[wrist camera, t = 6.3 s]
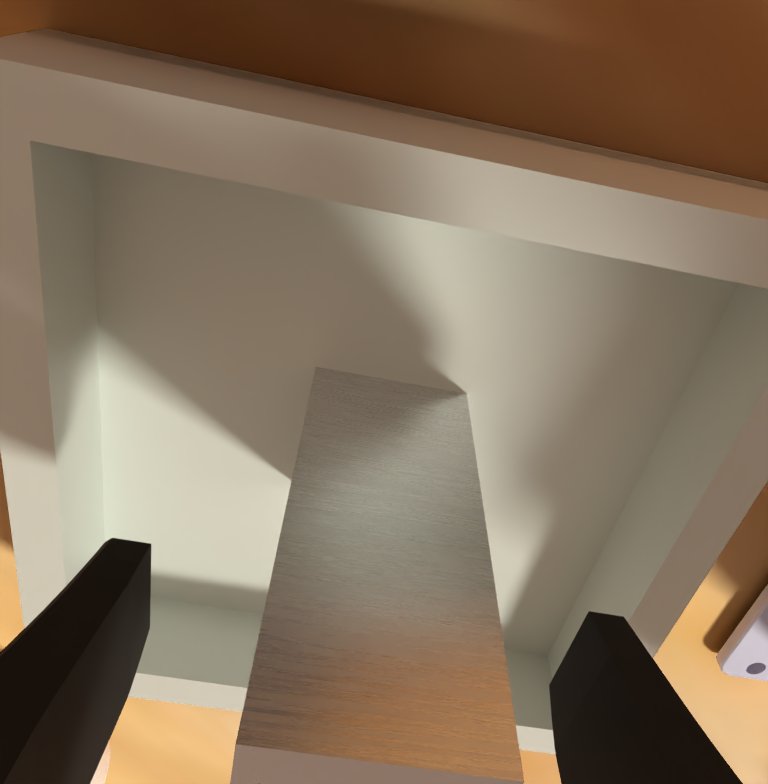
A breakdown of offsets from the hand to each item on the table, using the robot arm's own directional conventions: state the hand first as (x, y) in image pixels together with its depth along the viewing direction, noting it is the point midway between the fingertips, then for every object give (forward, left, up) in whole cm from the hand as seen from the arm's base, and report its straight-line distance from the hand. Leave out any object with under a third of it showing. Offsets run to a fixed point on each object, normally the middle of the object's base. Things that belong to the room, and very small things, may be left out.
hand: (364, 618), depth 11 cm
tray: (0, 0, -5) cm, 5 cm away
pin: (0, 0, -5) cm, 5 cm away
